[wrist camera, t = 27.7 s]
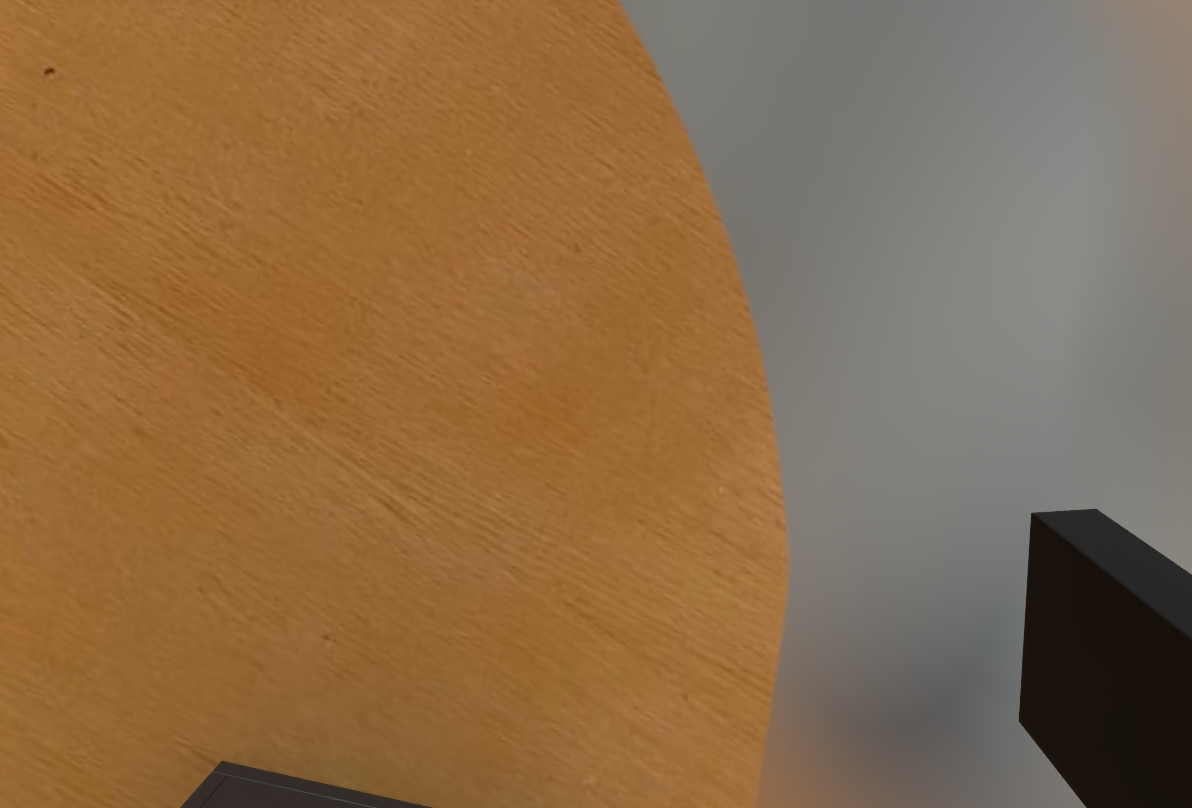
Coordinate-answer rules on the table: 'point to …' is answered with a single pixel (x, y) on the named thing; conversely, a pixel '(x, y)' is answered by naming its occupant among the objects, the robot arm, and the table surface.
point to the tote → (278, 792)
